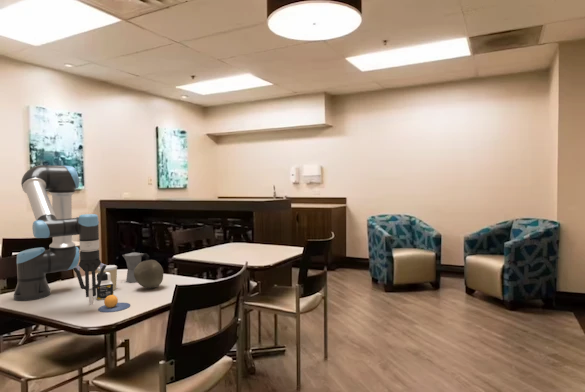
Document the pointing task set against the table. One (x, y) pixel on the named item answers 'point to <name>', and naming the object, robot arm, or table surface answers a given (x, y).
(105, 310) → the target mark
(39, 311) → the table surface
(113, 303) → the ball
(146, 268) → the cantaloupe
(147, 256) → the coffeepot
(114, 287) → the coffee cup
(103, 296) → the medicine bottle
